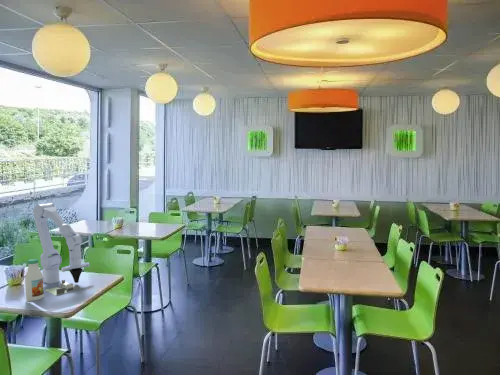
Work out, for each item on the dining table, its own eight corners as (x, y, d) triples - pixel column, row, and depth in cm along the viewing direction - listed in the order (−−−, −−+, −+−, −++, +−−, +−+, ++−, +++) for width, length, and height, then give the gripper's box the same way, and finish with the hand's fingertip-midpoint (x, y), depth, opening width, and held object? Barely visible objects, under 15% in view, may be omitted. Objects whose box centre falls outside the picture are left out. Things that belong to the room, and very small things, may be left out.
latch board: (44, 292, 223) (44, 285, 223) (71, 285, 233) (70, 279, 233) (55, 297, 214) (54, 290, 214) (82, 290, 224) (82, 283, 224)
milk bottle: (25, 303, 206) (23, 262, 204) (26, 298, 213) (24, 258, 211) (43, 301, 209) (41, 260, 207) (44, 296, 216) (42, 257, 215)
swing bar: (74, 289, 223) (74, 283, 223) (68, 290, 221) (67, 284, 220) (65, 285, 230) (65, 279, 230) (59, 286, 228) (59, 280, 227)
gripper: (65, 261, 222) (66, 286, 224) (91, 255, 233) (92, 280, 234) (59, 258, 227) (60, 284, 228) (85, 253, 238) (86, 278, 239)
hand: (76, 282), depth 232 cm, fingers closed
